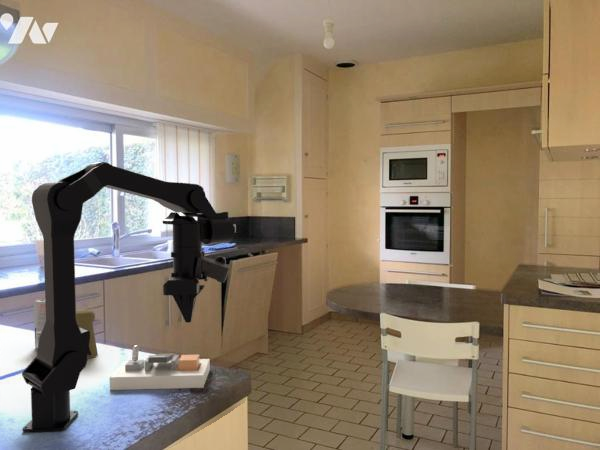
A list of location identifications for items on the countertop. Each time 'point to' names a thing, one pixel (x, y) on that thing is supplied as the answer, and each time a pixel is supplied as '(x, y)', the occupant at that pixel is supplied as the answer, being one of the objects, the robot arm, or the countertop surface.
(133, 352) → the toggle lever
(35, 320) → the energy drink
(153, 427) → the countertop surface
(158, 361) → the rocker switch
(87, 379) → the countertop surface
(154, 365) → the switch panel
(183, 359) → the push button
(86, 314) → the cork
